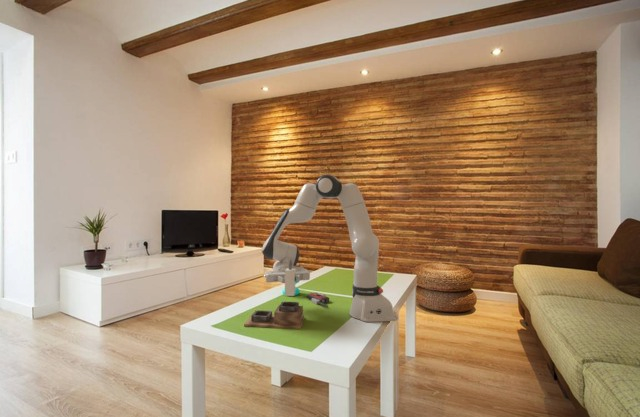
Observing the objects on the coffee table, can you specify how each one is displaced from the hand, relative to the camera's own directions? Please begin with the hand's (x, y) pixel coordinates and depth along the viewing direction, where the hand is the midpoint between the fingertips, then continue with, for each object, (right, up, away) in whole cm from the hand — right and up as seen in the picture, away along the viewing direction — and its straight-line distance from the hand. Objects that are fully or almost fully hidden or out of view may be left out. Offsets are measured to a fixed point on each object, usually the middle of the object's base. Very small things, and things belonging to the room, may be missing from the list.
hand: (290, 279), depth 138 cm
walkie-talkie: (+13, -20, +31) cm, 39 cm away
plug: (0, -7, +1) cm, 7 cm away
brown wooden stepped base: (-7, -19, +2) cm, 20 cm away
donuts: (-4, -19, +45) cm, 49 cm away
